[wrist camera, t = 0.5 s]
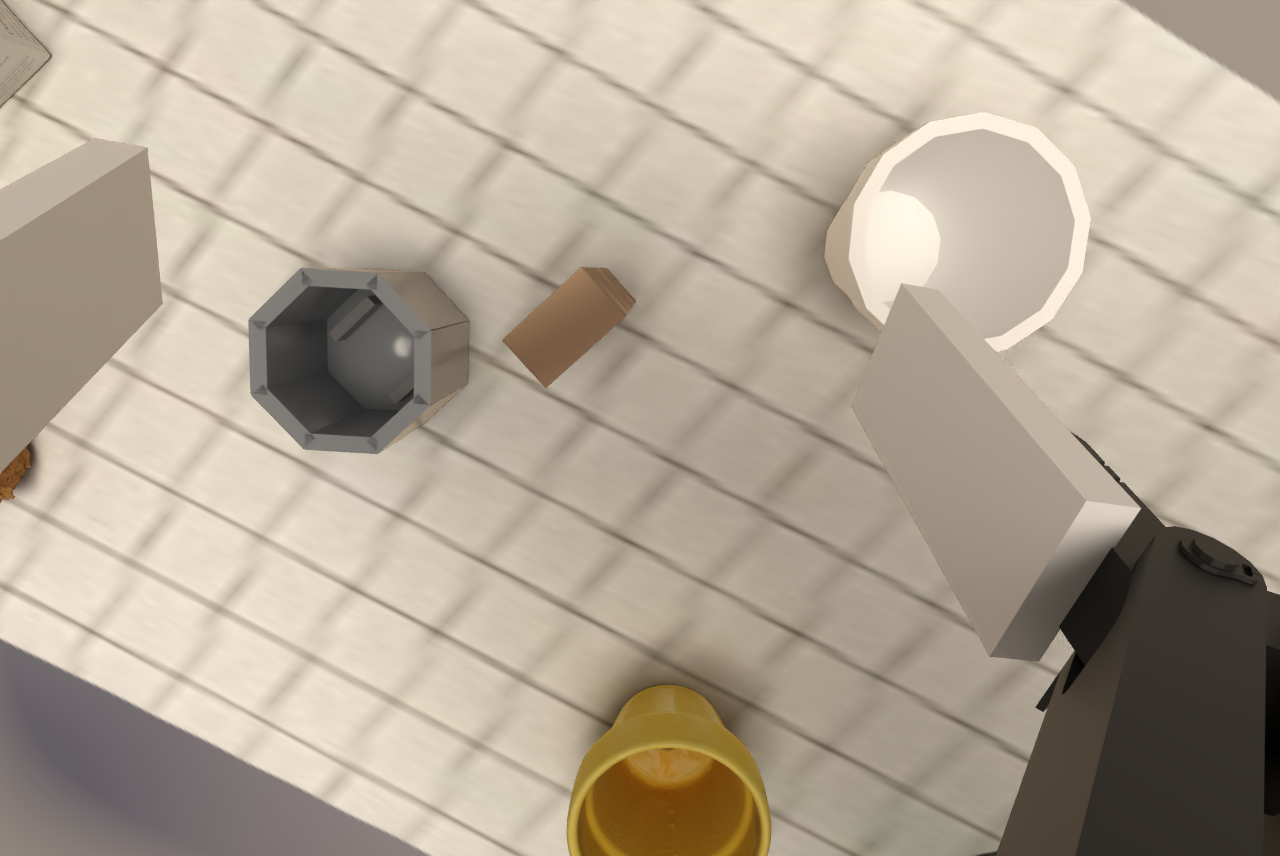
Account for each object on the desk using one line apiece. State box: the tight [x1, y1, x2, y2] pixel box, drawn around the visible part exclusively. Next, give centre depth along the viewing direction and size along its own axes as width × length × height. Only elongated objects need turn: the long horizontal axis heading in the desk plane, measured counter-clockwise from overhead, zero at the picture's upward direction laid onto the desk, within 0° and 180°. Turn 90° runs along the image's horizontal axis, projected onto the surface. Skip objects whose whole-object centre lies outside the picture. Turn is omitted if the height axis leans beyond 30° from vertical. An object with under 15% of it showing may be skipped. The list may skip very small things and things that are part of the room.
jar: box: [249, 268, 469, 454], centre depth 43 cm, size 9×9×8 cm
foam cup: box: [824, 112, 1091, 351], centre depth 39 cm, size 10×9×13 cm
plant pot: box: [567, 685, 771, 856], centre depth 46 cm, size 10×10×10 cm
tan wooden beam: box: [502, 267, 636, 388], centre depth 39 cm, size 2×4×16 cm, turn 132°
